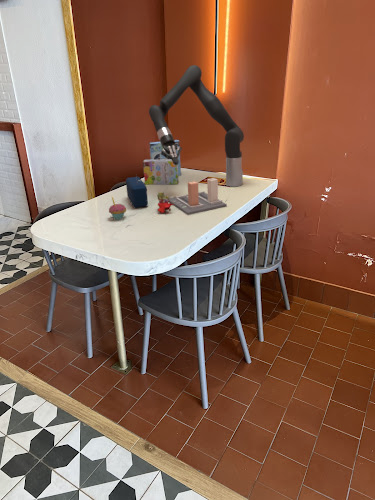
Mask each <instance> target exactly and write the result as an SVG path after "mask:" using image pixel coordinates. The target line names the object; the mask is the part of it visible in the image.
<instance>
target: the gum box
mask: <svg viewBox="0 0 375 500" xmlns="http://www.w3.org/2000/svg"><path fill="white" fill-rule="evenodd" d="M174 141H175V144H176V145H177V147H179V148H180V147H181V146H180V140H178V139H174ZM148 144H149V156H150V160H158V159H167V158H166V157H164V156H163V155H162V154H160V153H161V150H163V147H162V145H161V143H160V141H152V142H149V143H148ZM177 153H178V151H177V149H176V154H177ZM178 161H179V163H178V176H181V175H182V171H181V170H182V167H181V154H180V155H179V157H178Z"/></svg>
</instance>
